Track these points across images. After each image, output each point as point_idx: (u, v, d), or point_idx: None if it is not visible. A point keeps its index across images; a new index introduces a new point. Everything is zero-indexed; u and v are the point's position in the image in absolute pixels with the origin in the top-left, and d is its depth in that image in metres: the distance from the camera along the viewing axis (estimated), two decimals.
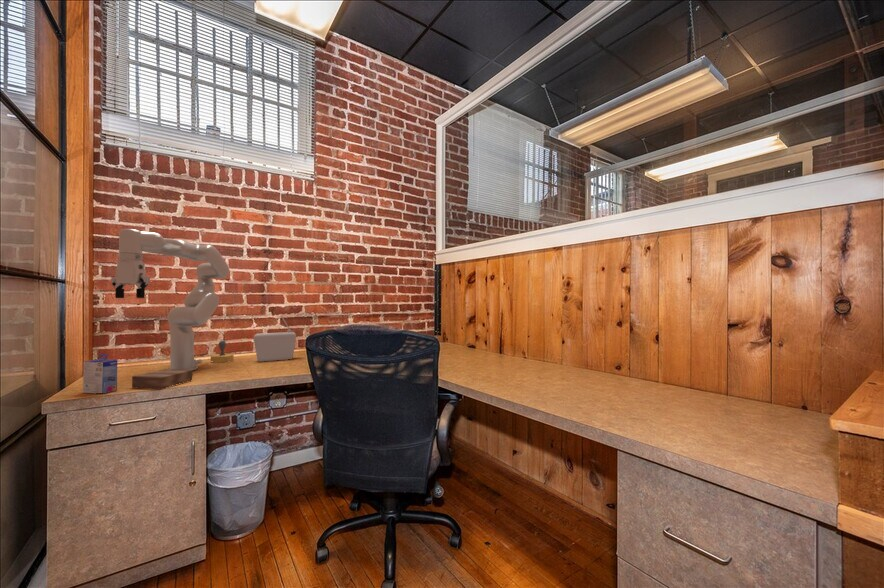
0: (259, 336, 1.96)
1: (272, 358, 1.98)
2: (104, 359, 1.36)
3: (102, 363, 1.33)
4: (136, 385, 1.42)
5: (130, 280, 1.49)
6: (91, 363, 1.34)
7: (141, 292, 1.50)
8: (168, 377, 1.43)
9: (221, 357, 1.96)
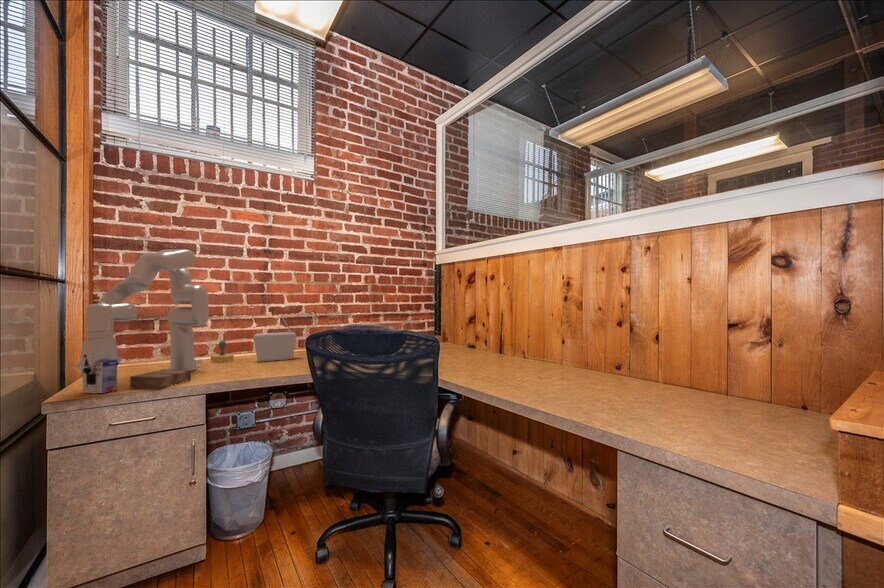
0: (259, 336, 1.96)
1: (272, 358, 1.98)
2: None
3: (102, 363, 1.33)
4: (134, 385, 1.41)
5: (112, 359, 1.38)
6: None
7: None
8: (167, 377, 1.42)
9: (221, 357, 1.96)
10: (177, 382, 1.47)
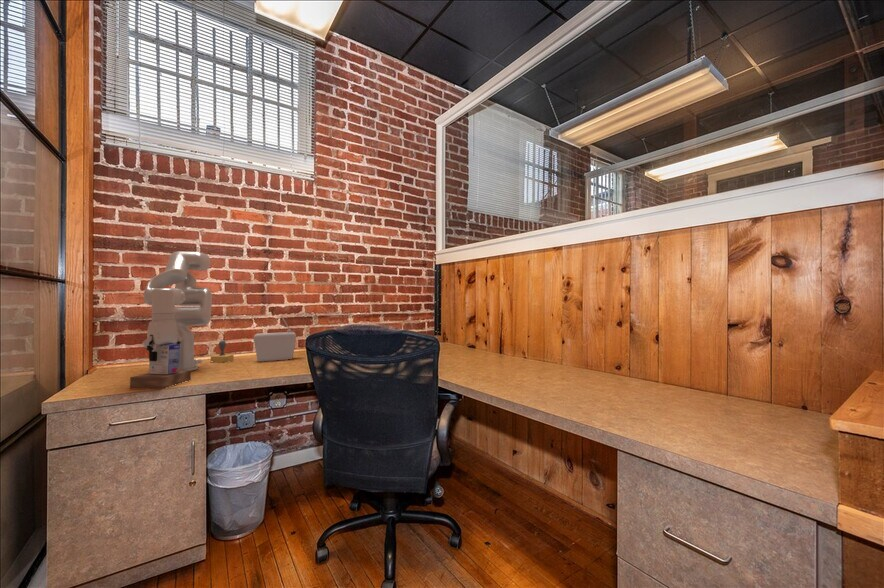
0: (259, 336, 1.96)
1: (272, 358, 1.98)
2: None
3: (168, 346, 1.46)
4: (134, 386, 1.41)
5: (173, 339, 1.50)
6: None
7: None
8: (168, 377, 1.43)
9: (221, 357, 1.96)
10: (178, 382, 1.47)
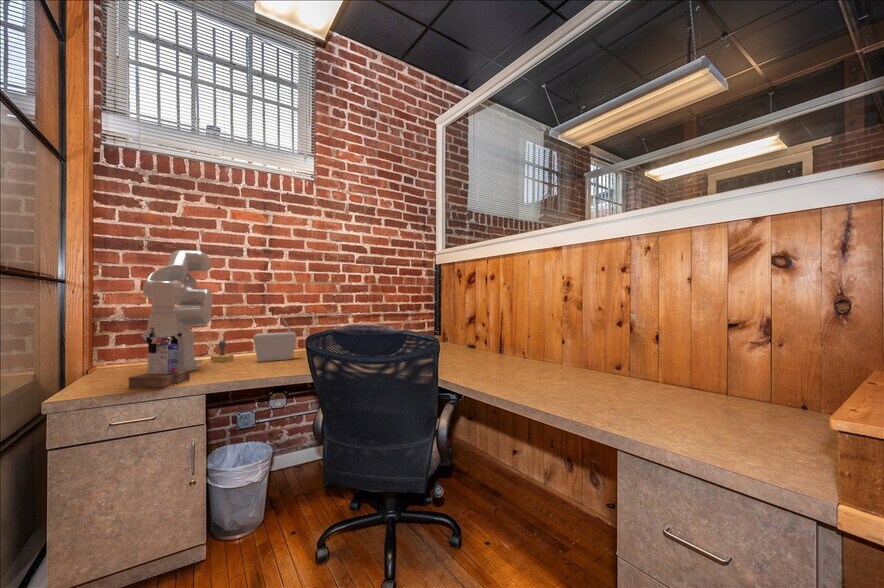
0: (259, 336, 1.96)
1: (272, 358, 1.98)
2: (167, 343, 1.48)
3: (167, 346, 1.45)
4: (133, 386, 1.41)
5: (173, 332, 1.50)
6: (156, 346, 1.46)
7: None
8: (167, 377, 1.42)
9: (221, 357, 1.96)
10: (176, 382, 1.47)
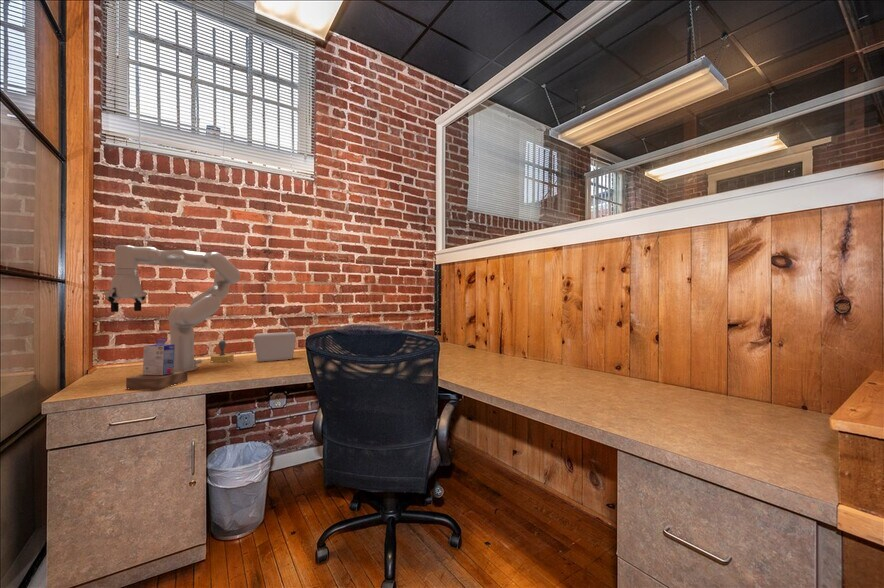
0: (259, 336, 1.96)
1: (272, 358, 1.98)
2: (163, 343, 1.47)
3: (163, 347, 1.44)
4: (131, 387, 1.40)
5: (136, 294, 1.59)
6: (151, 347, 1.45)
7: None
8: (165, 378, 1.42)
9: (221, 357, 1.96)
10: (174, 383, 1.46)
